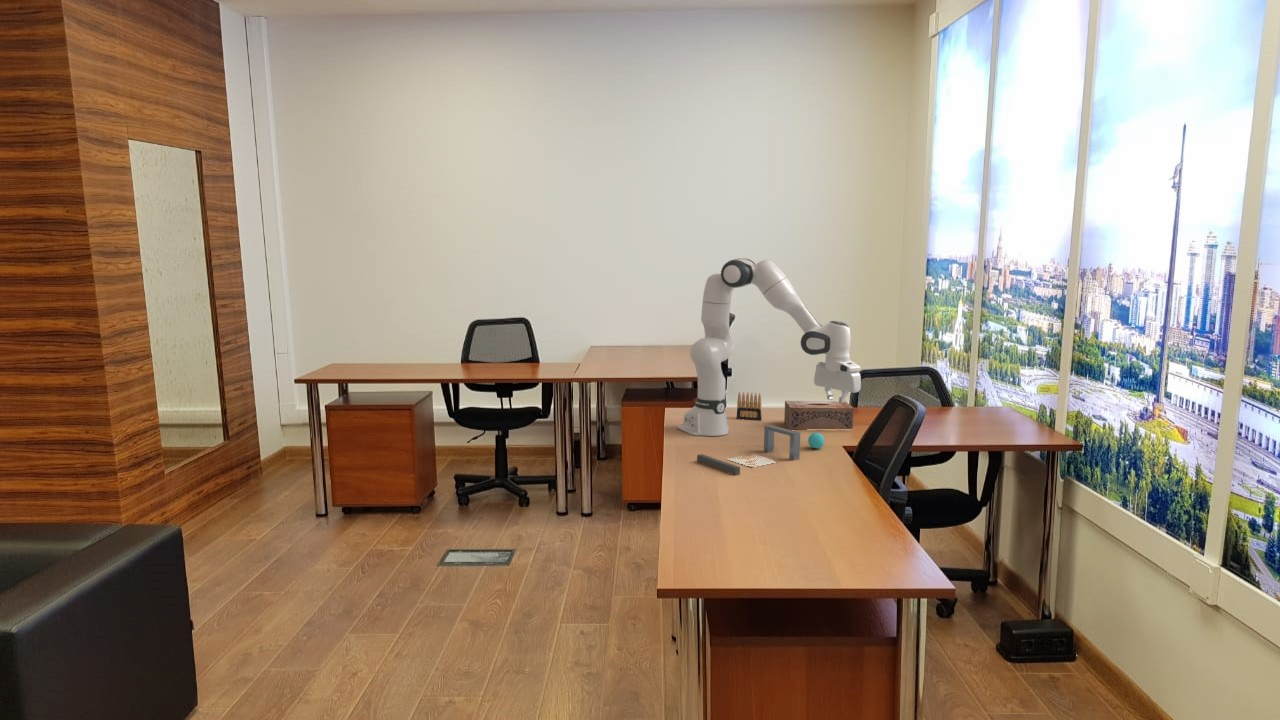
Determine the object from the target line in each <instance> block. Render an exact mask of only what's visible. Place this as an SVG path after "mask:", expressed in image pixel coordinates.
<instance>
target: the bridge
mask: <svg viewBox="0 0 1280 720" xmlns="http://www.w3.org/2000/svg"><path fill="white" fill-rule="evenodd" d="M763 431H764V435H763V436H764V437H763V452H764V451H765V452H764V453H767V452H769V453H771V452H770V451H774V448H775V445H774V444H775V433H777V434H778V433H779V434H780V435H781V434H782V435H785V436H788V437H789V457H788V458H789V459H788V460H790V459H792V460H791V461H793V460H794V461H796V460H795V459H799V460H800V456H801V454H800V451H801V450H800V449H801V431H800V432H799V431H792V430H789V429H788V428H785V427H784V428H783V427H780V426H777V425H772V424H767V425H764V429H763ZM774 452H775V451H774Z"/></svg>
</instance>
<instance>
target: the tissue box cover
mask: <svg viewBox="0 0 1280 720" xmlns="http://www.w3.org/2000/svg"><path fill="white" fill-rule="evenodd" d="M854 411H855V407H853V406H852V405H851V404H850V403H849V402H847V401H846V400H845V402H839V400H838V401H837V400H836V401H835V400H784V420H783V421H784V425H785V424H786V425H785V426H786V427H788V428H787V429H788V430H807V429H852V428H853V429H854V416H855V415H854V414H855V413H854Z"/></svg>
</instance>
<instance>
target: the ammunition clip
mask: <svg viewBox="0 0 1280 720" xmlns="http://www.w3.org/2000/svg"><path fill="white" fill-rule="evenodd" d="M736 408H737V409H736V418H735V419H736V420H742V419H744V420H745V421H759V422H761V421H762V395H761V392H759V393H758V395H757V392H755V393H754V395H753V392H751V393H750V394H749V392H746V395H745V392H744V391H743V392H742V396H741V392H740V391H739V392H738V394H737V407H736ZM744 420H743V421H744Z"/></svg>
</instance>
